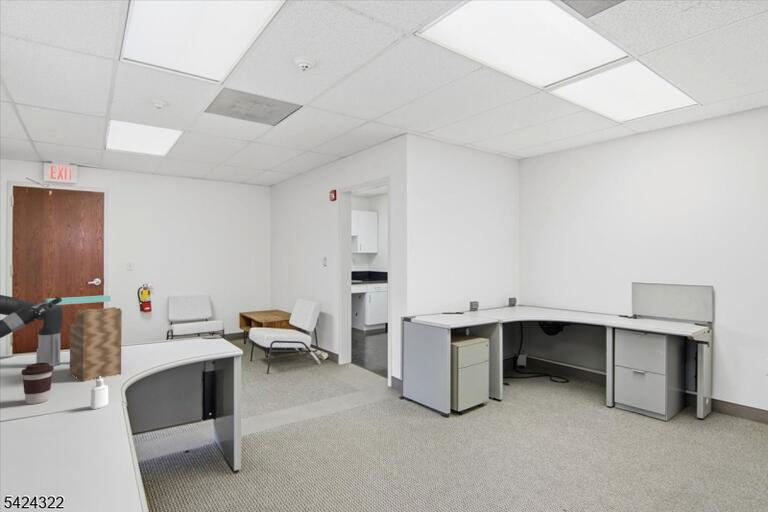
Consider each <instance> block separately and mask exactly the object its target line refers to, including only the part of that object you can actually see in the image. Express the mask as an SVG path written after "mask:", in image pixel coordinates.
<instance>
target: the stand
mask: <svg viewBox="0 0 768 512" xmlns="http://www.w3.org/2000/svg"><path fill="white" fill-rule="evenodd" d="M122 315H123V314H122V310H121V308H120V307H118V308H117V307H103V308H102V307H101V308H90V309H89V308H88V309H79V310H77V311H76V323H75V324H70V327H69V329H70V330H69V375H70V374H71V375H70V376H72V375H73V376H72V377H74V376H75V377H74V378H76V377H77V378H76V379H78V380H79V379H80V380H79V381H81V380H82V381H81V382H87V381H86V380H88V381H92V380H91V379H93V380H96V379H95V378H99V376H101V377H104V378H106V376H109V377H113V376H112V375H114V376H118V375H117V374H119V375H122V318H123V317H122Z"/></svg>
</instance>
